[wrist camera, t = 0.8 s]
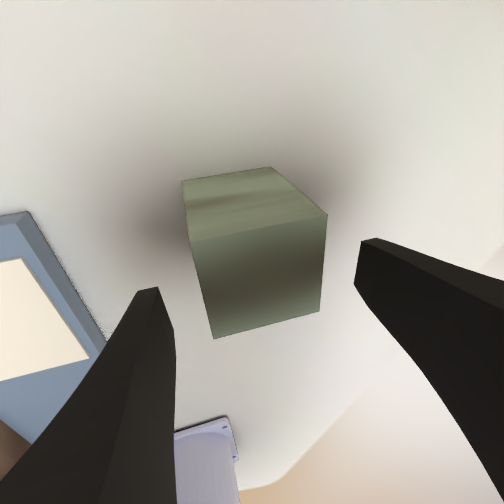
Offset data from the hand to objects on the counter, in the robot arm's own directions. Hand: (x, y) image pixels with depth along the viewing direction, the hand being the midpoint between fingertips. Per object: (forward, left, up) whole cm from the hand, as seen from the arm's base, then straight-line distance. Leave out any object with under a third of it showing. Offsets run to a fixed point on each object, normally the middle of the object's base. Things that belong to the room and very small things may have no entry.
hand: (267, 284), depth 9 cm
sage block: (0, 0, -6) cm, 6 cm away
